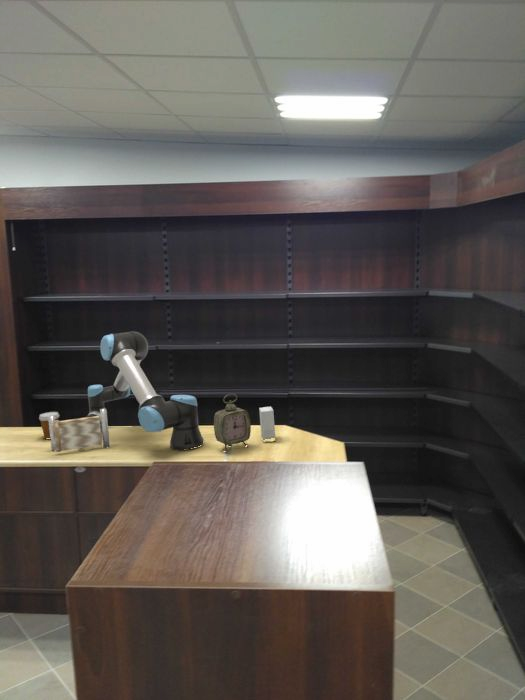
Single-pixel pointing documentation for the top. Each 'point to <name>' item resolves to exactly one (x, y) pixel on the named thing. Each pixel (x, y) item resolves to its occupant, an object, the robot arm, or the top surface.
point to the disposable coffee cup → (47, 422)
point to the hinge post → (104, 427)
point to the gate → (77, 433)
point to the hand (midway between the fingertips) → (79, 435)
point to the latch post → (52, 432)
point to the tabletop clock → (232, 424)
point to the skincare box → (267, 423)
